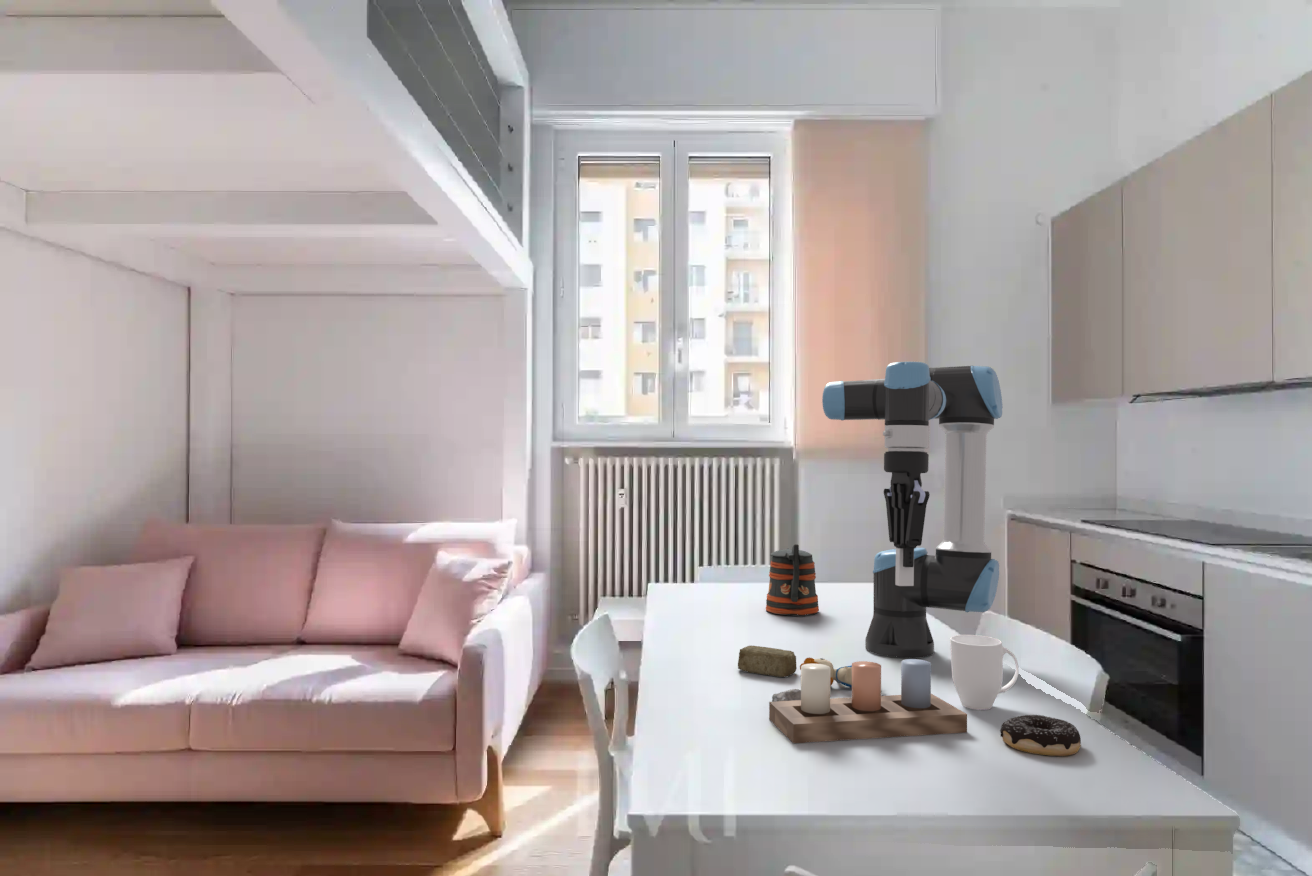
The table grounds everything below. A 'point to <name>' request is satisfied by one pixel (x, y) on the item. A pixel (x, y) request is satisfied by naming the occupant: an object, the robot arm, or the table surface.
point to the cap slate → (916, 683)
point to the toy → (834, 671)
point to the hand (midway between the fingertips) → (904, 585)
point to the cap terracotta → (866, 686)
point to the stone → (787, 695)
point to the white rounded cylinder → (815, 688)
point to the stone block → (767, 661)
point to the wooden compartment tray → (866, 720)
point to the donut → (1041, 735)
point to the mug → (979, 669)
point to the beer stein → (792, 583)
